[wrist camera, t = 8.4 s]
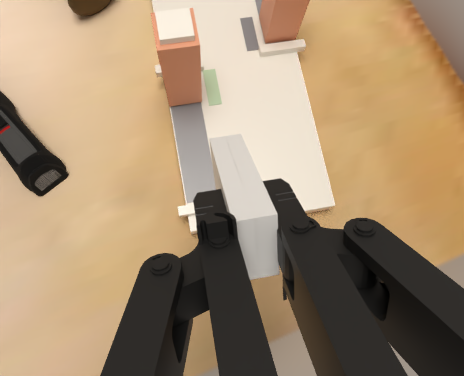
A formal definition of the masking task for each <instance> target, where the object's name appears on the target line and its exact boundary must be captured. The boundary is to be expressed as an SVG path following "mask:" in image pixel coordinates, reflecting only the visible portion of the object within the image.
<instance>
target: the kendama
mask: <svg viewBox="0 0 464 376" xmlns="http://www.w3.org/2000/svg"><path fill="white" fill-rule="evenodd" d="M110 1H111V0H68V4H69V6H70V8H71V9H72V10H73V12H74V13H76V14H78V15H81V16H87V15H93V14H95V13H97V12H99V11H101V10H102V9H103V8H105V7H106V6H107V5H108V4H109V2H110Z"/></svg>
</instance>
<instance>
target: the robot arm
mask: <svg viewBox="0 0 464 376" xmlns="http://www.w3.org/2000/svg"><path fill="white" fill-rule="evenodd" d="M209 141H210V149H211V157H212V164H213V172H214V180H215V188H216V190H211V191H204V192H198V193H197V194H196V196H195V198H194V200H193V203H194V210H195V217H196V223H197V224H196V228H197V233H198V239H199V242H198V245H197V246H196V248H195V249H194V250H193V251H192V252H190V253H189V254H187V255H185V256H183V257H181V258H178V257H177V256H175V255H173V254H169V253H163V254H157V255H155V256H152V257H150V258H149V259H147V260H146V261H145V262H144V263H143V265H142V266H141V268H140V271H139V274H138V276H137V279H136V282H135V284H134V287H133V290H132V292H131V295H130V298H129V300H128V303H127V306H126V308H125V311H124V314H123V316H122V319H121V322H120V324H119V327H118V330H117V332H116V335H115V338H114V341H113V343H112V346H111V349H110V351H109V354H108V357H107V359H106V362H105V365H104V367H103V370H102V373H101V375H100V376H183V372H184V367H185V362H186V356H187V351H188V346H189V340H190V335H191V329H192V324H193V318H194V317H196V316H198V315H200V314H202V313H204V312H206V311H208V310H210V317H211V323H212V330H213V337H214V343H215V350H216V356H217V363H218V369H219V376H278V375H277V372H276V368H275V365H274V361H273V358H272V354H271V351H270V348H269V344H268V341H267V337H266V334H265V330H264V327H263V323H262V320H261V316H260V313H259V309H258V306H257V302H256V299H255V296H254V292H253V289H252V285H251V282H250V280H252V279H257V278H263V277H268V276H274V275H279V265H280V268H281V270H282V273H283V299H284V300H287V296H288V299H289V302H290V304H291V307H292V310H293V312H294V315H295V318H296V321H297V323H298V326H299V329H300V331H301V334H302V336H303V339H304V342H305V345H306V347H307V350H308V353H309V355H310V358H311V360H312V363H313V366H314V368H315V371H316V374H317V376H407V374H406V372H405V370H404V369H403V367H402V365H401V363H400V362H399V360H398V358H397V357H396V355H395V353H394V351H393V350H392V348H391V346H392V347H393V348H394V349H395V350H396V351H397V352H398V353H399V354H400V356H401V357H402V358H403V359H404V360H405V361H406V362H407V363H408V364H409V366H410V367H411V368H412V369H413V370H414V371H415V372H416V373H417V374H418V375H419V376H464V289H463V288H462V287H461V286H460V285H458V284H457V283H456V282H455V281H453V280H452V279H451V278H449V277H448V276H447V275H445V274H444V273H443V272H442V271H440V270H439V269H438V268H437V267H435V266H434V265H433V264H431V263H430V262H429V261H428V260H426V259H425V258H424V257H422V256H421V255H420V254H419V253H417V252H416V251H415V250H413V249H412V248H411V247H410V246H408V245H407V244H406V243H404V242H403V241H402V240H401V239H399V238H398V237H397V236H395V235H394V234H393V233H392V232H390V231H389V230H388V229H386V228H385V227H384V226H383V225H381V224H380V223H378V222H376V221H375V220H371V219H368V218H356V219H351V220H350V221H348V222H346V224H345V226H344V229H328V228H323V227H320V225H319V223H318V222H317V221H316V220H314V219H312V218H310V217H308V216H307V215H306V213H305V211H304V209H303V208H302V206H301V204H300V202H299V200H298V199H297V198H296V195H295V193H294V192H293V190H292V188H291V186H290V184H289V183H287V182H286V181H284V180H283V179H281V178H279V179H273V180H267V181H262V179H261V177H260V175H259V172H258V170H257V168H256V166H255V164H254V161H253V159H252V157H251V155H250V153H249V151H248V148H247V146H246V144H245V142H244V140H243V137H242V135H241V134H236V135H229V136H222V137H216V138H209ZM388 342H389V343H388ZM389 344H390V345H391V346H390V345H389Z"/></svg>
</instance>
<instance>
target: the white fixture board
mask: <svg viewBox="0 0 464 376" xmlns="http://www.w3.org/2000/svg"><path fill="white" fill-rule="evenodd" d="M152 4H153V10H154V13H155V12H157V11H165V10H173V9H181V8H193V10H194V15H195V21H196V26H197V31H198V36H199V41H200V54H201V83H202V102H197V103H191V104H184V105H177V106H171V107H170V112H171V118H172V124H173V130H174V136H175V142H176V148H177V154H178V160H179V166H180V172H181V178H182V183H183V189H184V195H185V201H186V205H184V206H178V211H179V216H180V217H184V216H188V219H189V225H190V231H191V234H196V233H197V228H196V224H197V223H196V217H195V210H194V203H193V200H194V198H195V196H196V194H197V193H198V192H204V191H211V190H216V188H215V180H214V172H213V164H212V157H211V149H210V141H209V138H216V137H222V136H229V135H236V134H241V135H242V137H243V140H244V142H245V144H246V146H247V148H248V151H249V153H250V155H251V157H252V159H253V161H254V164H255V166H256V168H257V170H258V172H259V175H260V177H261V179H262V181H267V180H273V179H279V178H281V179H283V180H284V181H286V182H287V183H289V184H290V186H291V188H292V190H293V192H294V193H295V195H296V198H297V199H298V200H299V202H300V204H301V206H302V208H303V209H304V211H305V213H311V212H317V211H322V210H327V209H330V208H332V207H333V206H335V202H334V198H333V194H332V190H331V186H330V182H329V178H328V174H327V170H326V166H325V162H324V158H323V154H322V150H321V146H320V142H319V138H318V134H317V130H316V126H315V122H314V118H313V114H312V110H311V106H310V102H309V98H308V94H307V90H306V86H305V82H304V78H303V74H302V70H301V66H300V62H299V58H298V54H297V52H301V51H304V50H305V47H306V45H305V41H304V39H300V40H289V41H282V42H274V43H267V44H265V40H264V36H263V32H262V27H261V23H260V19H259V14H260V9H261V4H262V0H152ZM155 70H156V75H157V77H163V75H162V71H161V66H160V65H155Z"/></svg>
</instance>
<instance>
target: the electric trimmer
mask: <svg viewBox="0 0 464 376" xmlns="http://www.w3.org/2000/svg"><path fill="white" fill-rule="evenodd" d="M0 151H1V153H2V154H3V156H4V157H5V158H6V160H7V161H8V163H9V164H10V165H11V167H12V168H13V169H14V171H15V172H16V174H17V175H18V177H19V178H20V180H21V182H22V183H23V185H24V186H25V187H26V188H28V189H29V190H30V191H32V192H34V193H35V194H36V195H38V196H43V195H44V194H46V193H47V192H49V191H50V190H51V189H53V188H54V187H55V186H57V185H58V184H59V183H61V182H62V181H63V180H65V179H66V178H67V176H68V174H67V172H66V171H65V170H66V167H65V166H64V164H63V163H62V161H61V160H60V159H59V158H57V157H56V156H55V155H53V154H52V153H50V152H49V151H48V150H47V149H46V148H45V147H44V146H43V144H42V143H41V142H40V141H39V140H38V139H37V138H36V137H35V136H34V135H33V134H32V133H31V131H30V130H29V129H28V128H27V127H26V126H25V125H24V123H23V122H22V121H21V119H20V118H19V117H18V115H17V114H16V112H15V108H14V105H13V104H12V102H11V101H10V100H9V99H8V98H7V97H6V96H5V95H4V94H3V93H2V92H1V91H0Z"/></svg>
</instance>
